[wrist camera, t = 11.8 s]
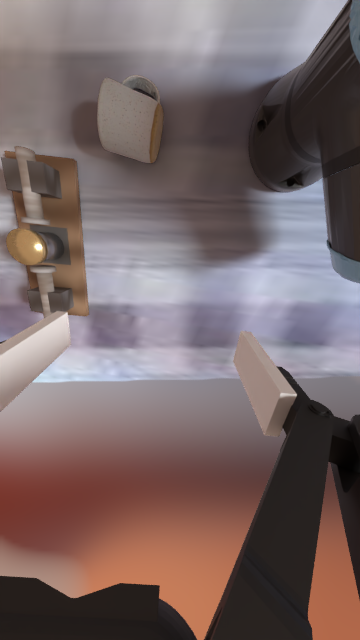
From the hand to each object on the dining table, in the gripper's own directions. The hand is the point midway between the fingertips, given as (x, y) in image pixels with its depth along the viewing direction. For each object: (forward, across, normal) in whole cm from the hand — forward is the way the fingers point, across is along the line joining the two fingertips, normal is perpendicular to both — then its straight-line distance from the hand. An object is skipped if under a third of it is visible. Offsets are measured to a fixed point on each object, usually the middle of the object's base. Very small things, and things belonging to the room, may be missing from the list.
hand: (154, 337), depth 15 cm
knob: (+26, -23, +3) cm, 35 cm away
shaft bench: (+28, -23, +3) cm, 36 cm away
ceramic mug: (+28, -8, +23) cm, 37 cm away
